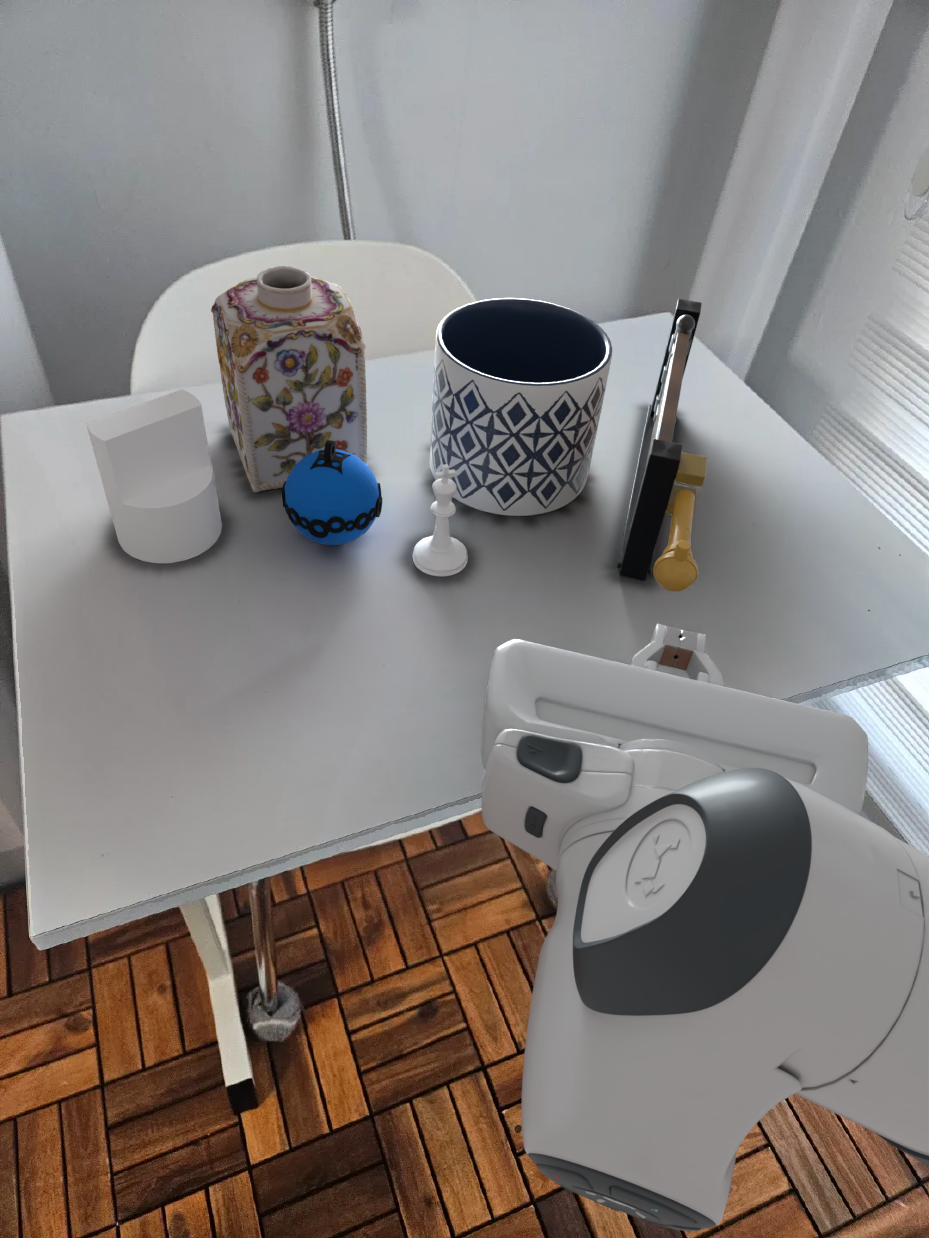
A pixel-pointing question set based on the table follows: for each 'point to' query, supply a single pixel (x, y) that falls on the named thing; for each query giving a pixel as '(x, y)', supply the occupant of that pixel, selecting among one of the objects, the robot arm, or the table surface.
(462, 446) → the planter
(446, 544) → the chess piece
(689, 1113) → the robot arm
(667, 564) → the bolt
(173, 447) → the cylinder with rectangular tab
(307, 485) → the ornament
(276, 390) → the decorative jar
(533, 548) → the table surface
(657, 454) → the gate frame
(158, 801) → the table surface
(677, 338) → the gate
